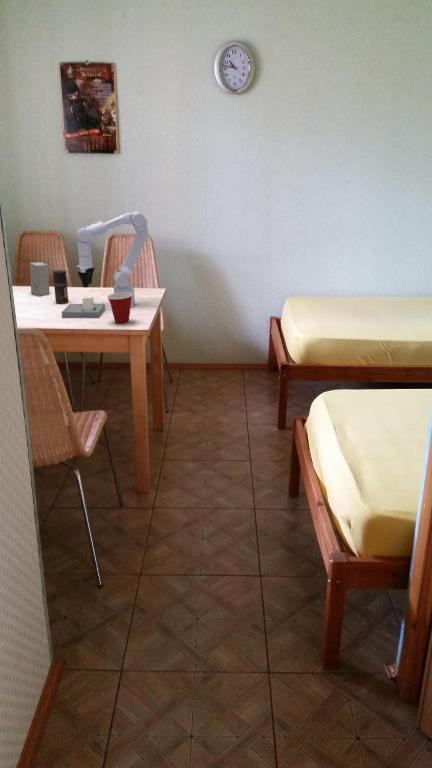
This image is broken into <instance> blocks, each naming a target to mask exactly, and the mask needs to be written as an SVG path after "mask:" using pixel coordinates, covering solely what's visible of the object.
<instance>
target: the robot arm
mask: <svg viewBox="0 0 432 768" xmlns="http://www.w3.org/2000/svg"><path fill="white" fill-rule="evenodd" d="M124 224H125V225H132V226H133V227H134V229H135V234H136V235H135V237H134V239H133V242H132V243H131V245H130V247H129V250H128V252H127V254H126V256H125V258H124V260H123V262H122V264H121V265H120V267H118V270H117V271H116V272H115V273H114V274H113V278H112V279H113V282H114V283H115V284H114V285H113V294H115V293H124V292H127V293H132V294H133V295H132V299H131V307H130V308H134V306H135V304H136V301H135V300H136V298H135V297H136V296H135V287H134V286H130V285H129V283H130V276H131V274H132V270H133V267H134V266H135V264H136V261H138V260H137V259H138V258H139V256H140V254H141V252H142V249H143V247H144V245H145V243H146V240H147V239H148V237H149V229H148V221H147V219H146V216H145V214H143V213H142V212H141V211H139V210H133V211H131V212H126V213H124V214H121V215H118V216H117V217H114V218H113V219H110V220H108V221H106V222H103V221H101V220H100V221H98V220H96V221H94V223H93V224H90V225H85V226H84V227H81V228H79V229H78V230H77V233H76V237H77V239H78V240H77V249H78V252H77V253H78V260H79V261H78V262H79V264H77V265H76V267H77V268H79V269H80V271H77V276H78V277H79V278H80V281H81V284H82V288H89V285H92V283H93V277H94V275H93V274H94V272H95V270H96V269H95V267H94V266H93V256H92V245H91V239H95V238H97V237H100V236H103V235H105V234H107V231H108V230H110V229H113V228H115V227H118V226H121V225H124Z"/></svg>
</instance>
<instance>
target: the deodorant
mask: <svg viewBox="0 0 432 768" xmlns="http://www.w3.org/2000/svg"><path fill="white" fill-rule="evenodd" d="M52 277H53V278H52V279H53V288H54V297H55V298H54V299H55V304H56V305H65V304H69V294H68V293H69V292H68V282H67V271H66V270H61V269H60V270H58V269H57V270H53V271H52Z"/></svg>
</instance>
